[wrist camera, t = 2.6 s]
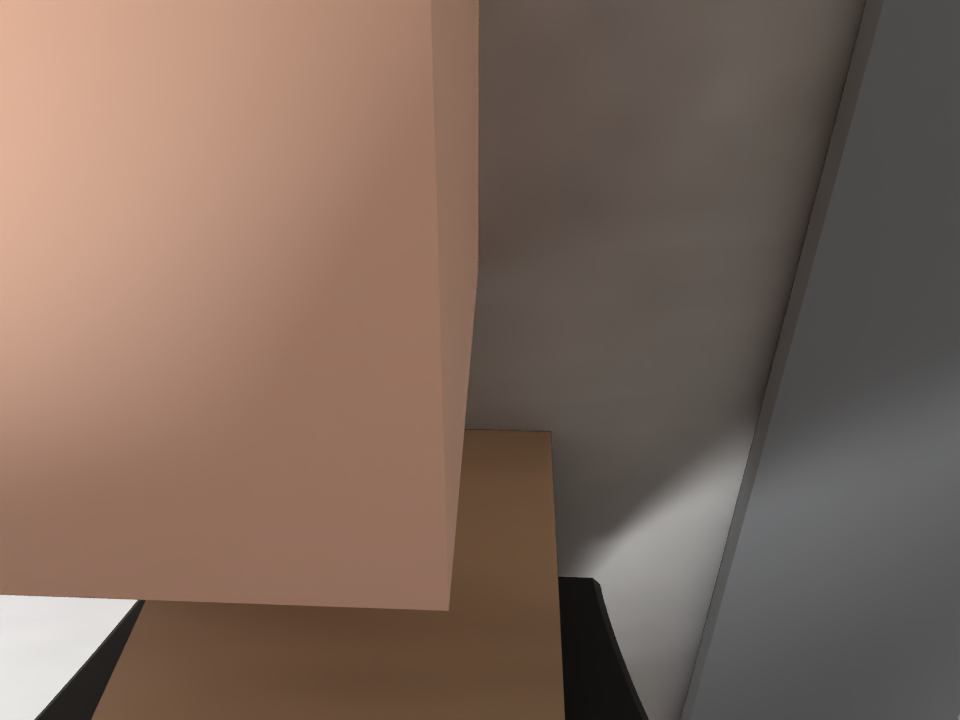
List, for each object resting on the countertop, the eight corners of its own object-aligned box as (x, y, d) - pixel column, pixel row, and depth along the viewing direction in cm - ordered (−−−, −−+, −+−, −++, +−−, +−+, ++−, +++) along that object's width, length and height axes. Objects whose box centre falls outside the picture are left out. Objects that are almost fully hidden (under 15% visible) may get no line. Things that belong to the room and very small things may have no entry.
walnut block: (537, 635, 14) (544, 991, 10) (274, 625, 14) (172, 973, 10) (550, 431, 11) (569, 802, 7) (227, 422, 11) (62, 782, 7)
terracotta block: (478, 268, 10) (448, 611, 6) (112, 259, 10) (-172, 589, 6) (480, -178, 7) (428, -132, 3) (-17, -182, 7) (-680, -136, 3)
